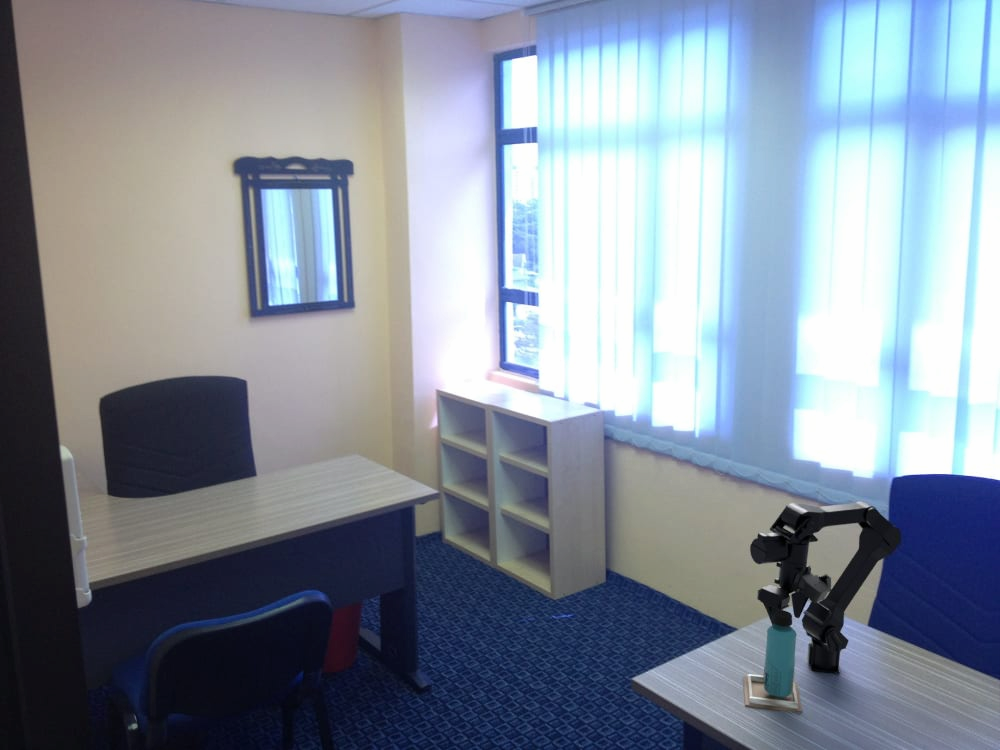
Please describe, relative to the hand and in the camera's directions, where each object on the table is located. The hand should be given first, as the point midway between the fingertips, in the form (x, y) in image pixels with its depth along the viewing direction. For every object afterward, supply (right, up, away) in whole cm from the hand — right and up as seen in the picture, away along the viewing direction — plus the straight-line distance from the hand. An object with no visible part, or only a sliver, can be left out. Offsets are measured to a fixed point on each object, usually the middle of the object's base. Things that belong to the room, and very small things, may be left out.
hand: (786, 622), depth 210 cm
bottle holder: (-5, -15, -6) cm, 17 cm away
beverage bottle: (-4, -15, -7) cm, 17 cm away
